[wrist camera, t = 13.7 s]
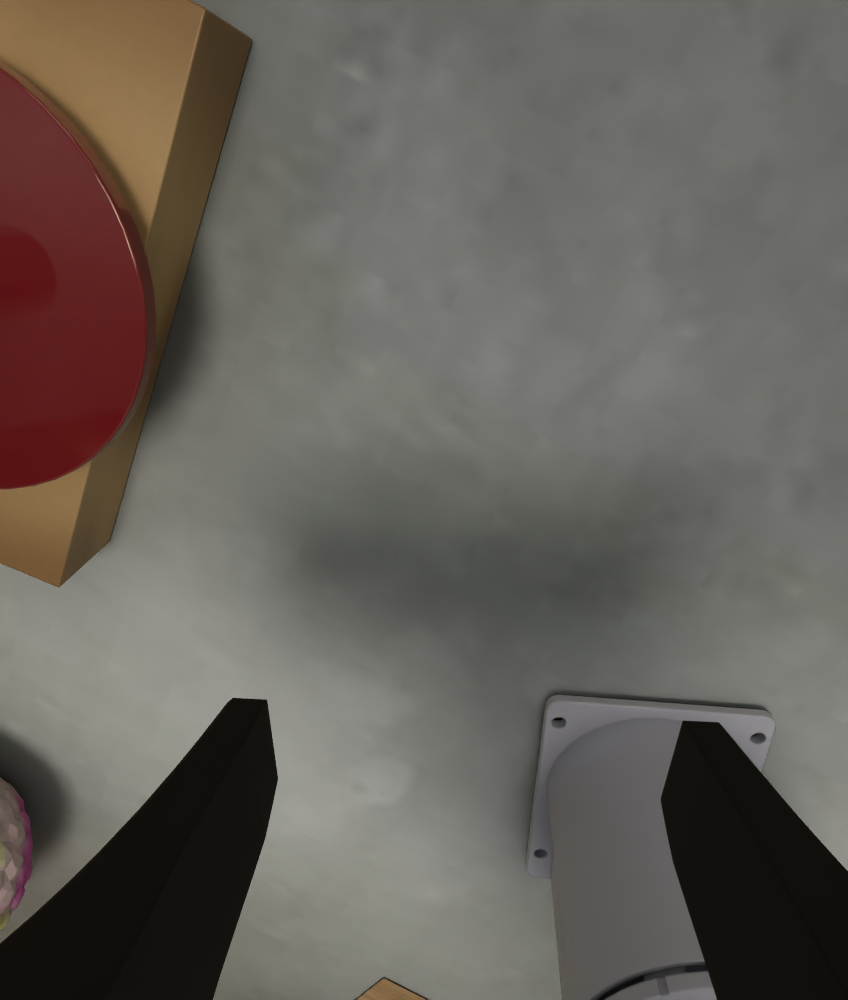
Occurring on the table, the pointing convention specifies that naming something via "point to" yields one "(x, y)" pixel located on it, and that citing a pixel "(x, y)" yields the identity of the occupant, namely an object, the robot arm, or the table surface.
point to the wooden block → (146, 190)
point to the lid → (64, 295)
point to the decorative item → (13, 850)
